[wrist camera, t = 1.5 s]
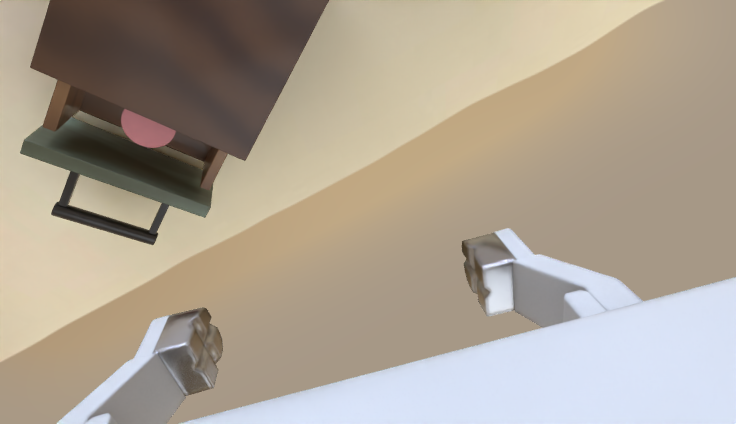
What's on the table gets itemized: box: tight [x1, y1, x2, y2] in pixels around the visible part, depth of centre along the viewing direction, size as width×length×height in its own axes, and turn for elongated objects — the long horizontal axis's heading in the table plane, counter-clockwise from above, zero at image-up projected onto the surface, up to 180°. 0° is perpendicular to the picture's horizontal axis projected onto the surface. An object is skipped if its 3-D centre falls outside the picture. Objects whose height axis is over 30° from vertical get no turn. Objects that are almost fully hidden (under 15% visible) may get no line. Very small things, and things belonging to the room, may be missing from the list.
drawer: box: [20, 80, 228, 245], centre depth 34 cm, size 20×13×7 cm, turn 147°
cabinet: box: [30, 0, 329, 161], centre depth 31 cm, size 16×15×9 cm
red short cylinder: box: [121, 109, 176, 148], centre depth 33 cm, size 4×4×5 cm
